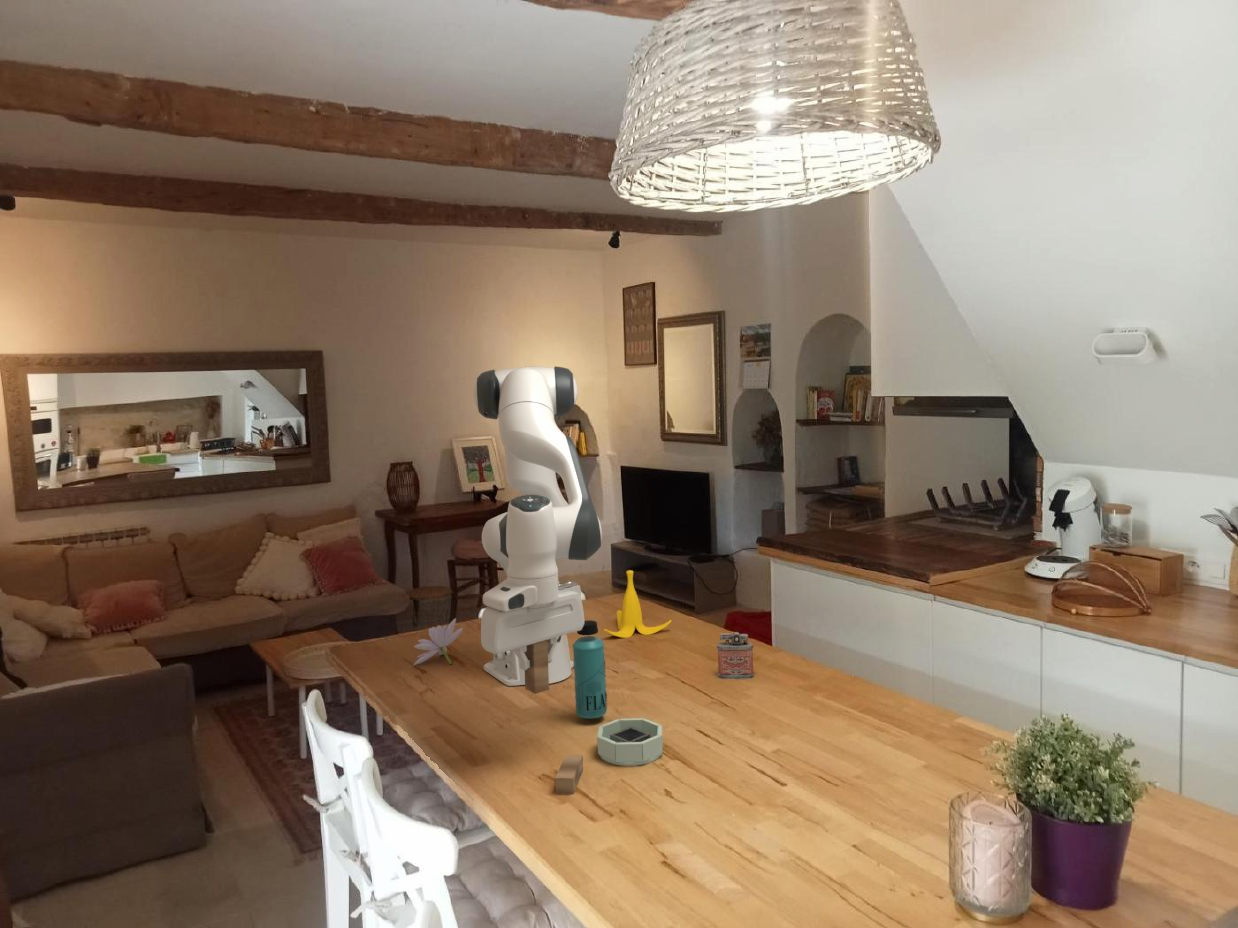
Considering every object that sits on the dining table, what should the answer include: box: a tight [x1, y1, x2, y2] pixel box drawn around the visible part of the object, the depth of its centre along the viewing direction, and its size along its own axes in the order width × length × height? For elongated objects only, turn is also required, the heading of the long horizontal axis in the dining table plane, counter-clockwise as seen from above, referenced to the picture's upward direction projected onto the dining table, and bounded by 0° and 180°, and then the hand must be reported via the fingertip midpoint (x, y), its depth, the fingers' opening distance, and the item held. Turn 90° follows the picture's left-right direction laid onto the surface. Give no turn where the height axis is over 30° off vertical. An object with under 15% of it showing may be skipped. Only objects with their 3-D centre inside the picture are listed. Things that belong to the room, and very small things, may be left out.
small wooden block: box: [554, 754, 584, 795], centre depth 152 cm, size 9×3×3 cm, turn 172°
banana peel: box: [603, 569, 673, 639], centre depth 235 cm, size 17×19×17 cm
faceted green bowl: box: [596, 717, 664, 767], centre depth 162 cm, size 12×12×4 cm
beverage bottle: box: [572, 619, 608, 719], centre depth 177 cm, size 6×7×20 cm
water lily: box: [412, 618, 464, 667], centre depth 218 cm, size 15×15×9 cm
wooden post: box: [524, 640, 550, 695], centre depth 157 cm, size 3×3×9 cm
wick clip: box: [610, 727, 651, 743], centre depth 162 cm, size 5×5×2 cm
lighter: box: [716, 631, 755, 680], centre depth 199 cm, size 8×3×10 cm, turn 84°
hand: (536, 665), depth 158 cm, fingers closed on wooden post, 3 cm apart
